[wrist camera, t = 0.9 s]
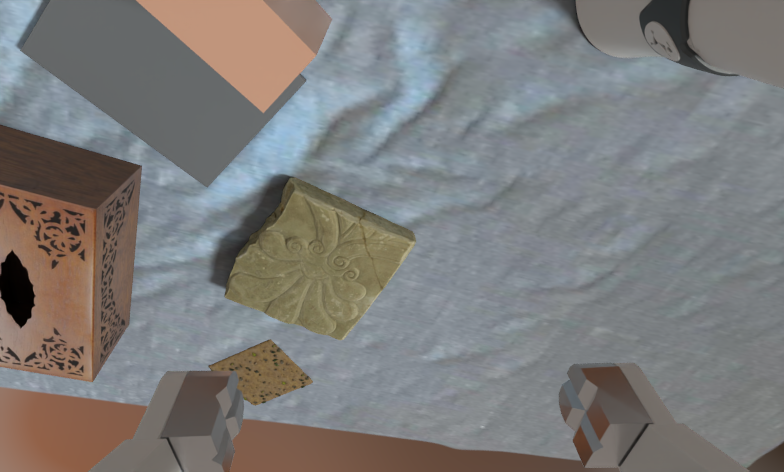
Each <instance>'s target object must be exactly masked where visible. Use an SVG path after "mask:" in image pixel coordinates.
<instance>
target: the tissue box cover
mask: <svg viewBox="0 0 784 472" xmlns="http://www.w3.org/2000/svg"><path fill="white" fill-rule="evenodd" d="M141 171H142V166H140V165H137V164H133V163H130V162H126V161H123V160H119V159H116V158H113V157H109V156H106V155H102V154H99V153H95V152H92V151H88V150H85V149H82V148H78V147H75V146H71V145H68V144H64V143H61V142H57V141H54V140H50V139H47V138H44V137H40V136H37V135H33V134H30V133H26V132H23V131H20V130H16V129H13V128H9V127H6V126H2V125H0V367H5V368H11V369H17V370H23V371H29V372H35V373H41V374H47V375H53V376H59V377H65V378H71V379H77V380H83V381H89V382H93V381H94V379H95V378H96V376H97V374H98V373H99V371H100V370H101V368H102V366H103V365H104V363H105V362H106V360H107V359H108V357H109V355H110V354H111V352H112V351H113V349H114V347H115V346H116V344H117V343H118V341H119V339H120V338H121V336H122V335H123V333H124V332H125V330H126V328H127V327H128V325H129V319H130V307H131V294H132V282H133V269H134V257H135V245H136V232H137V220H138V208H139V195H140V183H141ZM13 300H15V301H13ZM18 301H20V302H18ZM23 302H24V303H23ZM28 303H29V304H28ZM33 304H34V305H33Z"/></svg>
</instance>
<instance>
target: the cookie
mask: <svg viewBox="0 0 784 472" xmlns="http://www.w3.org/2000/svg"><path fill="white" fill-rule="evenodd" d="M208 367H209V368H210V369H211V370H212V371H236V373H237V376H238V379H239V381H238V385H237V389H239V390H240V391H242V394H243V398H244V400H247V401H249V402H250V403H251V404H253V405H258V404H261V403H265V402H266V401H269V400H271V399H273V398H276V397H279V396H281V395H283V394H286V393H288V392H290V391H293V390H296V389H298V388H303V387H305V386H306V385H309V384H311V383H312V382H313V381H312V380H311V379H310V377H308V376H307V375H306V374H305V373H304V372H303V371H302V370H301V369H300V368H299V367H298V366H297V365H296V364H295V363H294V362H293V361H292V360H291V359H290V358H289V357H288V356H287V355H286V354H285V353H284V352H283V351H282V350H281V349H280V348H279V347H278V346H277V345H276V344H275V343H274V342H272V340H268V341H265V342H263V343H260V344H258V345H256V346H254V347H251V348H249V349H247V350H244V351H242V352H240V353H238V354H235V355H233V356H231V357H228V358H226V359H224V360H222V361H219V362H217V363H214V364H212V365H209V366H208Z"/></svg>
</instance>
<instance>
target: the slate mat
mask: <svg viewBox="0 0 784 472" xmlns="http://www.w3.org/2000/svg"><path fill="white" fill-rule="evenodd" d="M20 51H22V52H23V53H24V54H26V55H27V56H28V57H30V58H31V59H33V60H34V61H35V62H37V63H38V64H39V65H41V66H42V67H43V68H45V69H46V70H48V71H49V72H50V73H52V74H53V75H54V76H56V77H57V78H58V79H60V80H61V81H63V82H64V83H65V84H67V85H68V86H69V87H71V88H72V89H73V90H75V91H76V92H78V93H79V94H80V95H82V96H83V97H84V98H86V99H87V100H88V101H90V102H91V103H93V104H94V105H95V106H97V107H98V108H99V109H101V110H102V111H103V112H105V113H106V114H108V115H109V116H110V117H112V118H113V119H114V120H116V121H117V122H118V123H120V124H121V125H123V126H124V127H125V128H127V129H128V130H129V131H131V132H132V133H133V134H135V135H136V136H138V137H139V138H140V139H142V140H143V141H144V142H146V143H147V144H148V145H150V146H151V147H153V148H154V149H155V150H157V151H158V152H159V153H161V154H162V155H163V156H165V157H166V158H168V159H169V160H170V161H172V162H173V163H174V164H176V165H177V166H178V167H180V168H181V169H183V170H184V171H185V172H187V173H188V174H189V175H191V176H192V177H193V178H195V179H196V180H198V181H199V182H200V183H202V184H203V185H204V186H206V187H208V186H209V185H210V184H211V183H212V182H213V181H214V180H215V179H216V178H217V176H218V175H219V174H220V173H221V172H222V171H223V170H224V169H225V168H226V167H227V166H228V165H229V164H230V162H231V161H232V160H233V159H234V158H235V157H236V156H237V155H238V154H239V153H240V152H241V151H242V150H243V148H244V147H245V146H246V145H247V144H248V143H249V142H250V141H251V140H252V139H253V138H254V137H255V136H256V135H257V133H258V132H259V131H260V130H261V129H262V128H263V127H264V126H265V125H266V124H267V123H268V122H269V121H270V119H271V118H272V117H273V116H274V115H275V114H276V113H277V112H278V111H279V110H280V109H281V108H282V107H283V105H284V104H285V103H286V102H287V101H288V100H289V99H290V98H291V97H292V96H293V95H294V94H295V93H296V91H297V90H298V89H299V88H300V87H301V86H302V85H303V84H304V83H305V82H306V79H305V78H304V77H303V76H302V75H301V74H299V75H298V76H297V77H296V78H295V79H294V80H293V81H292V83H291V84H290V85H289V86H288V87H287V88H286V89H285V90H284V91H283V92H282V93H281V95H280V96H279V97H278V98H277V99H276V100H275V101H274V102H273V103H272V104H271V105H270V107H269V108H268V109H267V110H266V111H265V112H264V113H263V112H262V111H260V110H259V109H258V108H257V107H256V106H255V105H254V104H253V103H251V102H250V101H249V100H248V99H247V98H246V97H245V96H243V95H242V94H241V93H240V92H239V91H238V90H237V89H236V88H234V87H233V86H232V85H231V84H230V83H229V82H228V81H226V80H225V79H224V78H223V77H222V76H221V75H220V74H219V73H217V72H216V71H215V70H214V69H213V68H212V67H211V66H210V65H208V64H207V63H206V62H205V61H204V60H203V59H202V58H200V57H199V56H198V55H197V54H196V53H195V52H194V51H193V50H191V49H190V48H189V47H188V46H187V45H186V44H185V43H184V42H182V41H181V40H180V39H179V38H178V37H177V36H176V35H174V34H173V33H172V32H171V31H170V30H169V29H168V28H167V27H165V26H164V25H163V24H162V23H161V22H160V21H159V20H158V19H156V18H155V17H154V16H153V15H152V14H151V13H150V12H148V11H147V10H146V9H145V8H144V7H143V6H142V5H141V4H139V3H138V2H137V1H136V0H50V1H49V3H48V5H47V7H46V8H45V10H44V12H43V13H42V15H41V17H40V18H39V20H38V22H37V23H36V25H35V27H34V29H33V30H32V32H31V34H30V35H29V37H28V39H27V40H26V42H25V44H24V45H23V47H22V49H21V50H20Z"/></svg>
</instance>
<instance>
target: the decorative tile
mask: <svg viewBox="0 0 784 472" xmlns="http://www.w3.org/2000/svg"><path fill="white" fill-rule="evenodd" d="M415 242H416V240H415V235H414V233H413V232H412V231H410V230H408V229H406V228H404V227H402V226H399V225H397V224H395V223H392V222H390V221H388V220H386V219H384V218H382V217H380V216H378V215H376V214H374V213H371V212H369V211H367V210H366V211H365V210H364V209H362V208H360V207H358V206H356V205H354V204H352V203H350V202H348V201H346V200H344V199H342V198H339V197H337V196H335V195H332V194H330V193H328V192H326V191H323V190H321V189H319V188H317V187H315V186H313V185H311V184H308V183H306V182H304V181H302V180H300V179H297V178H290V179H289V180H288V182H287V184H286V185H285V187H284V189H283V194H282V198H281V203H280V204H279V206H278V207H277V208H276V210H275V211H274V212H273V213H272V215H271V216H269V217H268V218H267V219H266V222H265V223H264V225H263V226H262V228H261V229H260V230H258V231H257V232H255V233H253V234H251V236H250V237H249V241H248V242H247V243H246V245H245V246H244V247H243V248H242V249H241V250H240V252H239V253H238V255H237V257H236V261H235V264H234V266H233V269H232V271H231V273H230V276H229V279H228V281H227V284H226V292H225V298H227V299H229V300H232V301H234V302H237V303H240V304H242V305H245V306H247V307H250V308H253V309H256V310H259V311H262V312H264V313H266V314H267V315H268V316H270V317H272V318H275V319H278V320H279V321H282V322H285V323H288V324H296V325H300V326H303V327H305V328H306V329H308V330H310V331H312V332H315V333H318V334H322V335H329V336H331V337H333V338H335V339H338V340H343V339H344V338H345V337H346V336H347V335H348V333H349V332H350V331H351V330H352V329H353V327H354V326H355V325H356V323H357V322H358V321H359V320H360V318H361V317H362V316H363V315H364V314H365V312H366V311H367V310H368V309H369V307H370V306H371V304H372V303H373V302H374V300H375V299H376V298H377V296H378V295H379V294H380V292H381V291H382V290H383V289H384V288H385V286H386V285H387V283H388V282H389V281H390V279H391V278H392V277H393V275H394V274H395V272H396V271H397V269H398V268H399V267H400V265H401V264H402V262H403V261H404V260H405V258H406V257H407V255H408V254H409V252H410V251H411V250H412V248H413V247H414V245H415Z"/></svg>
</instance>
